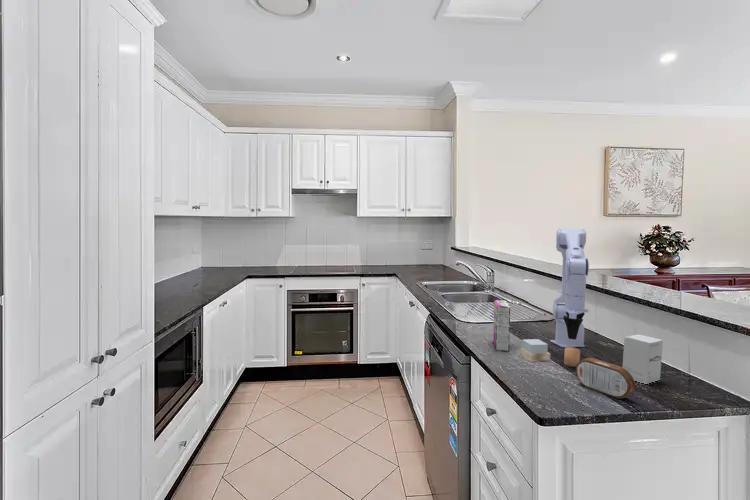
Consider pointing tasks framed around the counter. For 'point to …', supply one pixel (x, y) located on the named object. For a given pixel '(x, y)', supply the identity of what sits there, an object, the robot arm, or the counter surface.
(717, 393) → the counter surface
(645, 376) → the supplement box
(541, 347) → the grey-blue top block
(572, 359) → the light brown cylinder
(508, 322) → the candy bar box
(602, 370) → the tin
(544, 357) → the birch base block
